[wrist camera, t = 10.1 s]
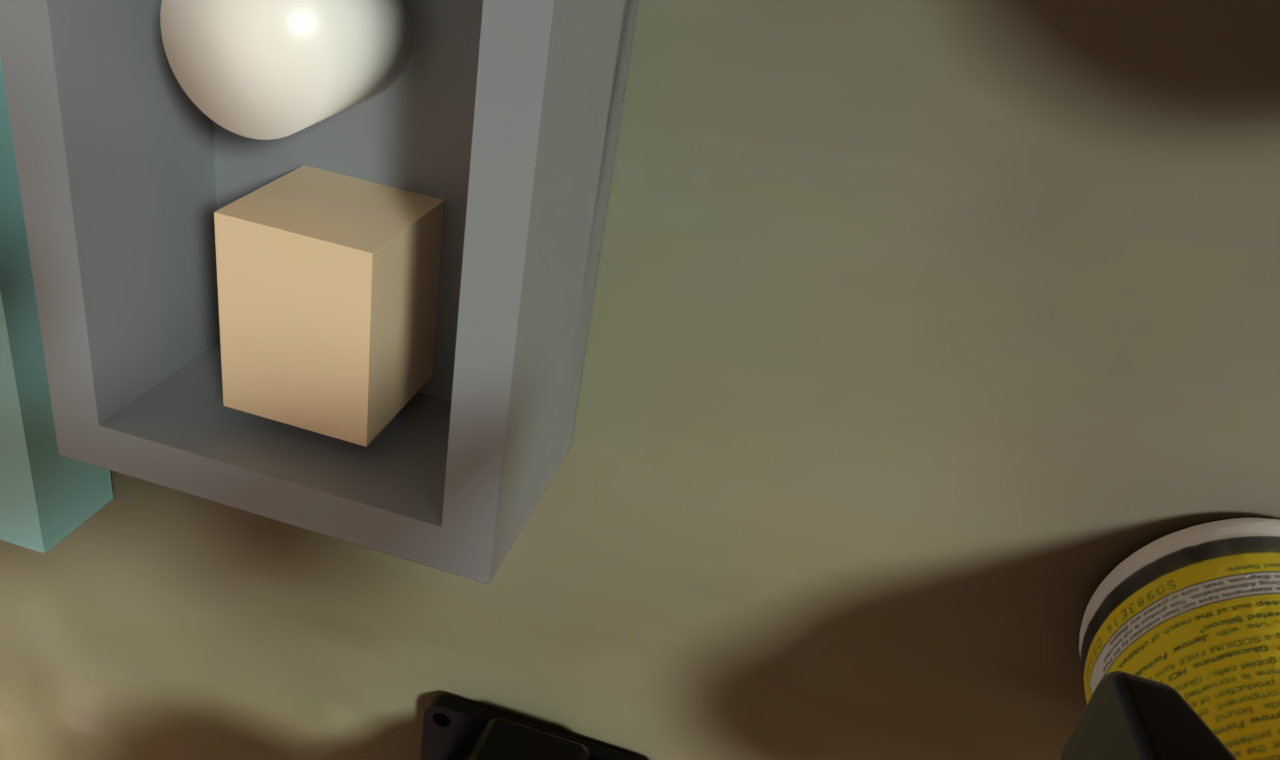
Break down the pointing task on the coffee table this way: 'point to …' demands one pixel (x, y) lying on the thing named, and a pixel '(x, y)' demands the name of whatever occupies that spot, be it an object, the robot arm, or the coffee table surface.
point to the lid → (31, 395)
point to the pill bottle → (1198, 627)
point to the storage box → (321, 249)
